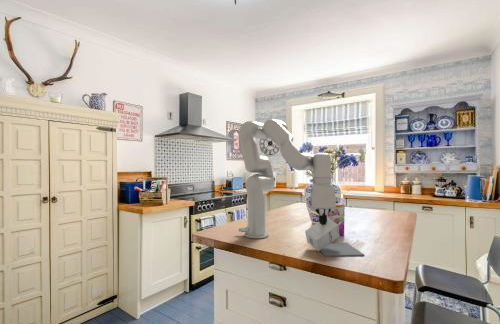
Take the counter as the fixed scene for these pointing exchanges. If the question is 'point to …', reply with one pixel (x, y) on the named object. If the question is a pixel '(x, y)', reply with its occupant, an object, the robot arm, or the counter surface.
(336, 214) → the candy bar box
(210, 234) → the counter surface
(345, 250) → the mat
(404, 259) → the counter surface
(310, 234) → the supplement box
